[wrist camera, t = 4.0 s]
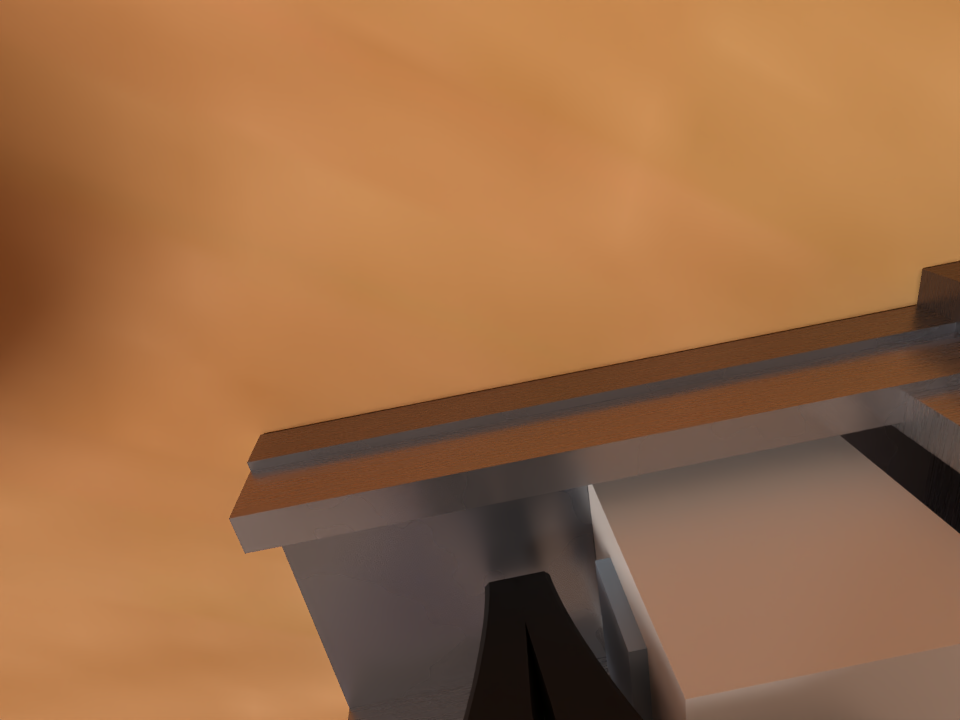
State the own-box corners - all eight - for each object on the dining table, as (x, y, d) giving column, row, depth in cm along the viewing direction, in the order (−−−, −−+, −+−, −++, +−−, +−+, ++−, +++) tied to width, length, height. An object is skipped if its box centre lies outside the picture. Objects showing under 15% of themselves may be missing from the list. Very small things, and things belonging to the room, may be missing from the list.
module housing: (1021, 652, 17) (1311, 924, 12) (396, 779, 17) (383, 1117, 12) (1160, 221, 12) (1832, 339, 6) (247, 402, 12) (83, 690, 6)
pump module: (808, 597, 14) (1037, 895, 9) (593, 640, 14) (695, 966, 9) (824, 422, 12) (1135, 677, 7) (571, 472, 12) (687, 769, 7)
